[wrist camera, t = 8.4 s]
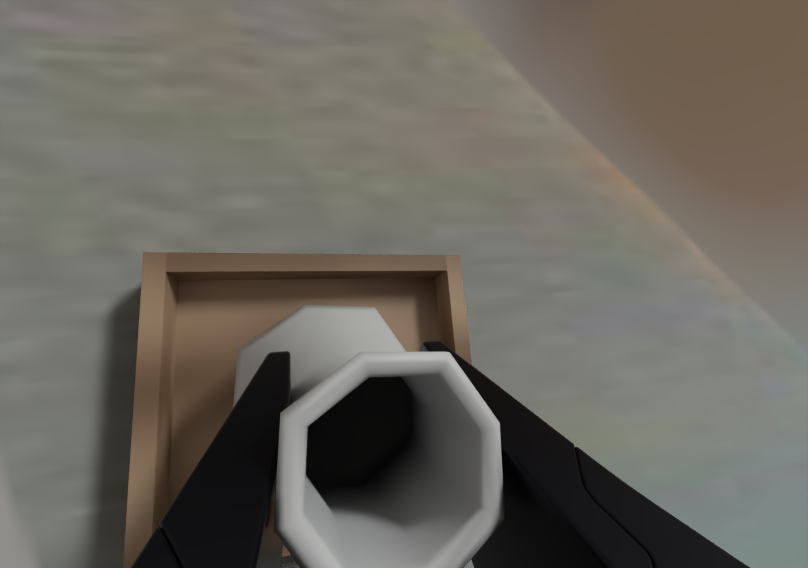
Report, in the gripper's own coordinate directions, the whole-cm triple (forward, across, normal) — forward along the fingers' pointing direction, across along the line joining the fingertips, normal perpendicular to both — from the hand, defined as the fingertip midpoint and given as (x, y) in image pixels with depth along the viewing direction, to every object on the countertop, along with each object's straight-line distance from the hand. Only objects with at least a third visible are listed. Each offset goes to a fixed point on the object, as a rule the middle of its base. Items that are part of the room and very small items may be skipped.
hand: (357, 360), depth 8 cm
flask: (+4, 0, +6) cm, 7 cm away
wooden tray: (+7, 0, +8) cm, 11 cm away
